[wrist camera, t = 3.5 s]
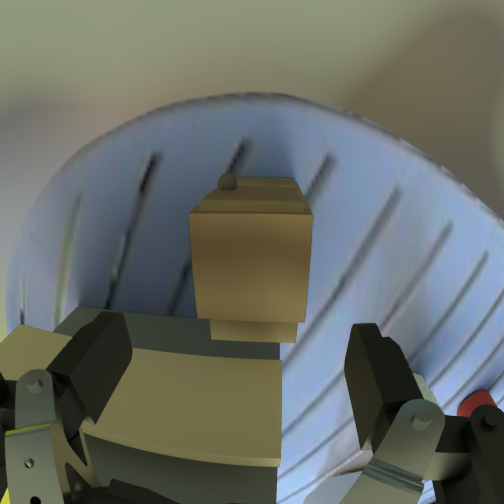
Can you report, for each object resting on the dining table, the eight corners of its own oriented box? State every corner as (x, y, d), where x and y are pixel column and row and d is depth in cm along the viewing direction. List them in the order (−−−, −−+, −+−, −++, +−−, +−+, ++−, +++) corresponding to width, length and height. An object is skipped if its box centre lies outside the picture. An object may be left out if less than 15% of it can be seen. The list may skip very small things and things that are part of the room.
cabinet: (292, 277, 28) (300, 362, 17) (229, 275, 29) (202, 358, 18) (296, 165, 25) (314, 186, 14) (226, 164, 25) (187, 185, 14)
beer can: (475, 412, 35) (499, 461, 24) (449, 418, 36) (471, 471, 25) (493, 385, 33) (523, 435, 22) (467, 390, 33) (496, 446, 22)
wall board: (276, 377, 33) (266, 579, 11) (95, 356, 35) (6, 493, 13) (280, 291, 29) (276, 563, 7) (71, 279, 31) (-67, 415, 8)
